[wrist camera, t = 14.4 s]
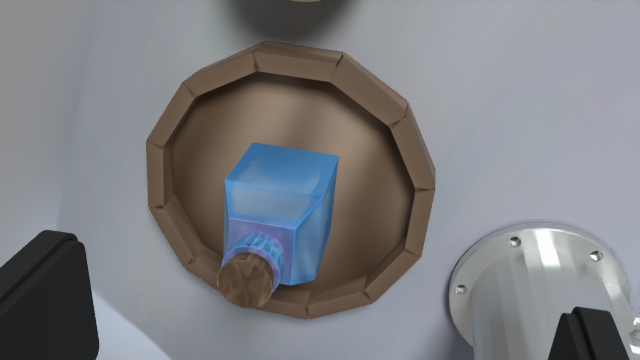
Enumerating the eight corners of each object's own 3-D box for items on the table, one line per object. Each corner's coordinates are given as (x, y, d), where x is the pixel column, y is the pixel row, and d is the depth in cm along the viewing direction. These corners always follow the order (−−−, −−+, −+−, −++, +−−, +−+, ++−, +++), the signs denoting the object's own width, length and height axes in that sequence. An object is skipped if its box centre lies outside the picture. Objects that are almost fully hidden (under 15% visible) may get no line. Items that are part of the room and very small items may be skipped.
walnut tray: (456, 68, 38) (457, 81, 36) (406, 313, 47) (404, 338, 45) (161, 26, 41) (142, 35, 38) (166, 267, 50) (151, 288, 47)
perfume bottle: (330, 231, 44) (295, 339, 34) (249, 217, 45) (190, 318, 34) (338, 155, 42) (304, 246, 31) (252, 142, 42) (189, 226, 32)
